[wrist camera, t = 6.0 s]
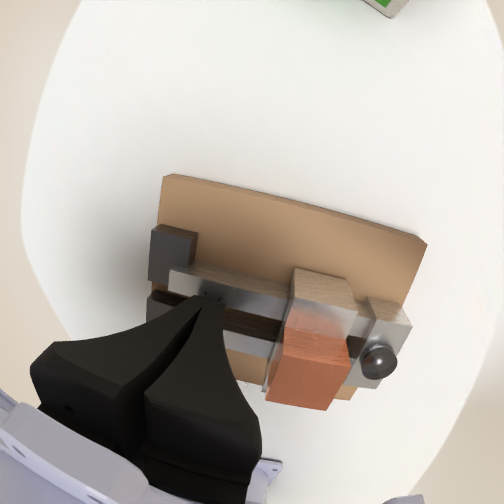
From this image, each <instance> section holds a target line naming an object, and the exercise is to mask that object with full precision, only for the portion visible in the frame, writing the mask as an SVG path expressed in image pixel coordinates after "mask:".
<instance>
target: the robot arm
mask: <svg viewBox="0 0 504 504" xmlns="http://www.w3.org/2000/svg"><path fill="white" fill-rule="evenodd" d="M224 309H225V305H224V303H222V302H219V301H215V300H211V299H208V298H204V297H201V296H197V295H193V296H191V297H190V298H188V299H187V300H185V301H184V302H182V303H181V304H179V305H177V306H176V307H174V308H172V309H171V310H169V311H167V312H166V313H164V314H162V315H160V316H159V317H157V318H155V319H153V320H151V321H149V322H147V323H145V324H142V325H140V326H137V327H135V328H132V329H129V330H126V331H123V332H119V333H116V334H112V335H108V336H104V337H99V338H93V339H86V340H78V341H62V342H60V341H59V342H53V343H52V344H51V345H50V346H49V347H48V348H47V349H46V350H45V351H44V352H43V353H42V354H41V355H40V356H39V357H38V358H37V359H36V360H35V361H34V362H33V363H32V364H31V366H30V375H31V379H32V382H33V384H34V387H35V389H36V392H37V394H38V396H39V399H40V401H41V404H40V406H39V407H38V408H35V407H33V406H31V405H29V404H27V403H23V402H22V403H18V402H17V401H15V400H14V399H13V398H11V397H10V396H9V395H7V394H6V393H5V392H4V391H3V390H1V389H0V504H265V503H266V495H267V488H268V486H269V485H270V484H271V482H272V481H273V480H274V478H275V477H276V476H277V475H278V473H279V472H280V471H281V469H282V467H283V464H282V463H280V462H274V461H268V460H262V459H260V458H261V455H262V438H261V431H260V426H259V421H258V417H257V416H256V414H255V413H254V411H253V410H252V408H251V407H250V405H249V404H248V402H247V401H246V399H245V397H244V395H243V394H242V392H241V390H240V388H239V386H238V384H237V381H236V379H235V377H234V375H233V372H232V369H231V367H230V364H229V360H228V357H227V353H226V349H225V343H224V337H223V326H222V319H223V314H224ZM383 504H424V499H423V495H422V494H418V495H411V496H403V497H396V498H393V499H390V500H388V501H386V502H384V503H383Z"/></svg>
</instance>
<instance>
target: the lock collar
mask: <svg viewBox="0 0 504 504" xmlns="http://www.w3.org/2000/svg"><path fill="white" fill-rule="evenodd" d="M357 313H358V309H357V306H356V303H355V300H354V297H353V295H352V292H351V289H350V286H349V284H348V281H347V280H344V279H340V278H336V277H332V276H328V275H324V274H320V273H316V272H312V271H308V270H304V269H300V268H295V267H294V271H293V274H292V277H291V292H290V300H289V303H288V306H287V310H286V313H285V316H284V319H283V322H282V325H281V328H280V331H279V334H278V337H277V340H276V343H275V346H274V349H273V352H272V355H271V357H270V359H267V358H266V365H265V372H264V378H263V385H262V392H265V393H266V397H265V400H266V401H271V402H276V403H281V404H287V405H292V406H298V407H304V408H310V409H317V410H324V411H326V410H327V408H328V407H329V405H330V404H331V402H332V400H333V399H334V397H335V395H336V394H337V392H338V390H339V389H340V387H341V385H342V383H343V382H344V380H345V378H346V377H347V375H348V373H349V371H350V369H351V363H350V358H349V353H348V349H347V344H346V338H347V336H348V333H349V331H350V329H351V327H352V325H353V322H354V320H355V318H356V316H357Z"/></svg>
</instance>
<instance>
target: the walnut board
mask: <svg viewBox="0 0 504 504" xmlns="http://www.w3.org/2000/svg"><path fill="white" fill-rule="evenodd" d="M160 224H165V225H169V226H173V227H177V228H181V229H186V230H190V231H194V232H198V240H197V246H196V253H195V260H197V261H201V262H205V263H209V264H213V265H217V266H221V267H224V268H228V269H232V270H236V271H240V272H244V273H248V274H252V275H256V276H260V277H264V278H268V279H272V280H276V281H280V282H284V283H288V284H291V277H292V274H293V271H294V267H295V268H300V269H304V270H308V271H312V272H316V273H320V274H324V275H328V276H332V277H336V278H340V279H344V280H347V281H348V284H349V286H350V289H351V292H352V295H353V297H354V299H356V300H360V301H365V300H366V297H367V296H369V297H374V298H378V299H382V300H387V301H391V302H395V303H400V305H401V307H402V305H403V303H404V301H405V298H406V296H407V294H408V292H409V290H410V287H411V285H412V283H413V280H414V278H415V276H416V273H417V271H418V268H419V266H420V263H421V261H422V258H423V256H424V253H425V250H426V248H427V245H428V244H426V243H425V242H424V241H423V240H421V239H420V238H419V237H418V236H415V235H412V234H409V233H405V232H402V231H399V230H396V229H393V228H390V227H386V226H383V225H380V224H377V223H373V222H370V221H367V220H363V219H360V218H356V217H353V216H349V215H346V214H342V213H339V212H335V211H332V210H328V209H324V208H321V207H317V206H313V205H309V204H306V203H302V202H298V201H294V200H290V199H286V198H282V197H278V196H274V195H270V194H265V193H261V192H257V191H253V190H248V189H244V188H239V187H235V186H230V185H226V184H221V183H217V182H212V181H207V180H202V179H197V178H192V177H187V176H182V175H177V174H171V175H168V176H164V177H163V181H162V188H161V196H160V203H159V211H158V220H157V226H158V225H160ZM155 289H157V290H161V291H164V292H167V293H171V294H174V295H177V296H181V297H184V298H190V297H189V296H186V295H182V294H179V293H175V292H172V291H168V286H166V285H163V284H160V283H156V282H153V281H152V292H153V291H154V290H155ZM224 310H225V311H228V312H232V313H236V314H240V315H244V316H248V317H252V318H256V319H260V320H264V321H268V322H272V323H276V324H281V325H282V322H283V321H282V320H277V319H273V318H269V317H265V316H261V315H257V314H253V313H249V312H245V311H241V310H237V309H233V308H229V307H225V309H224ZM348 338H349V335H348V336H347V338H346V339H348ZM225 349H226V353H227V357H228V360H229V364H230V367H231V369H232V372H233V375H234V377H235V379H236V380H240V381H244V382H249V383H253V384H257V385H263V378H264V372H265V365H266V358H263V357H259V356H254V355H250V354H246V353H242V352H238V351H234V350H230V349H227V348H225ZM357 388H358V387H355V386H347V385H343V383H342V385H341V387H340V389H339V390H338V392H337V394H336V395H335V397H334V399H341V400H350V399H351V397H352V396H353V394H354V393H355V391H356V389H357Z"/></svg>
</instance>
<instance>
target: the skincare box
mask: <svg viewBox="0 0 504 504" xmlns="http://www.w3.org/2000/svg"><path fill="white" fill-rule="evenodd" d="M364 1H366V2H367V3H369V4H370V5H372V6H373V7H374V8H376V9H377V10H379V11H380V12H381V13H383V14H384V15H386V16H387V17H390V18H393V17H394V16H395V15H396V14H397V13H398V12H399V11H400V10H401V9H402V8H403V7H404V6H405V5H406V4H407V2H408V1H409V0H364Z"/></svg>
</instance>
